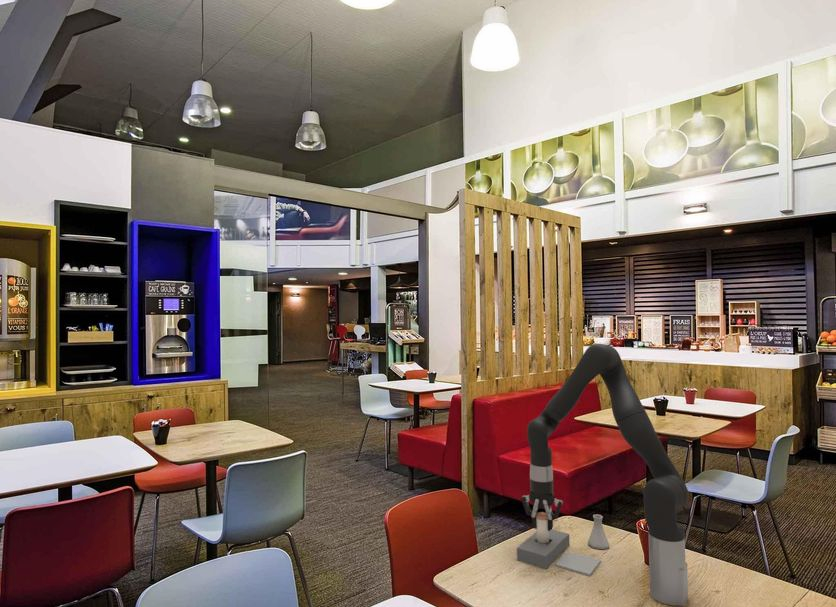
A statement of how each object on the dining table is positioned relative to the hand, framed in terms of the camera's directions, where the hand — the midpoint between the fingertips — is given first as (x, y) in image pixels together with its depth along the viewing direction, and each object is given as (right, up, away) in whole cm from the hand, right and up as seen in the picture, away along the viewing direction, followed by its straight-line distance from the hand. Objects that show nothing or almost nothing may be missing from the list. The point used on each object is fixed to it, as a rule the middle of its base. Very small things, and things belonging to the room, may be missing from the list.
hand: (542, 528), depth 170 cm
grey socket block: (+1, -8, 0) cm, 8 cm away
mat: (+10, -8, -8) cm, 15 cm away
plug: (0, -5, 0) cm, 5 cm away
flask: (+21, -8, +5) cm, 23 cm away
